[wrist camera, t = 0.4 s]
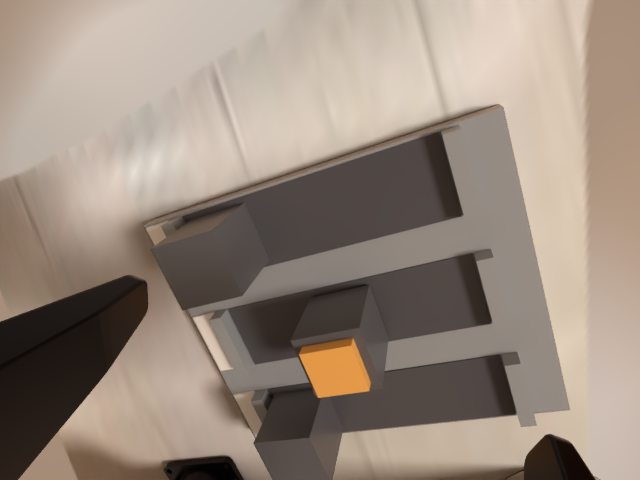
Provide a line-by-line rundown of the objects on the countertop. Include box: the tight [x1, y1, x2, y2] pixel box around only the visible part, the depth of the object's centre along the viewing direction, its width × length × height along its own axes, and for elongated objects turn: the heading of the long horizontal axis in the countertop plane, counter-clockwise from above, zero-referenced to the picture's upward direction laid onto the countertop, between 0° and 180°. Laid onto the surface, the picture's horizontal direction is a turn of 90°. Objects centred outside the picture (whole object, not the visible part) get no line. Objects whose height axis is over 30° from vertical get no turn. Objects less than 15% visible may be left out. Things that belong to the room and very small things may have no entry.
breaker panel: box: [144, 104, 570, 480], centre depth 23 cm, size 20×17×5 cm
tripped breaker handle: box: [290, 285, 389, 398], centre depth 22 cm, size 4×4×5 cm
